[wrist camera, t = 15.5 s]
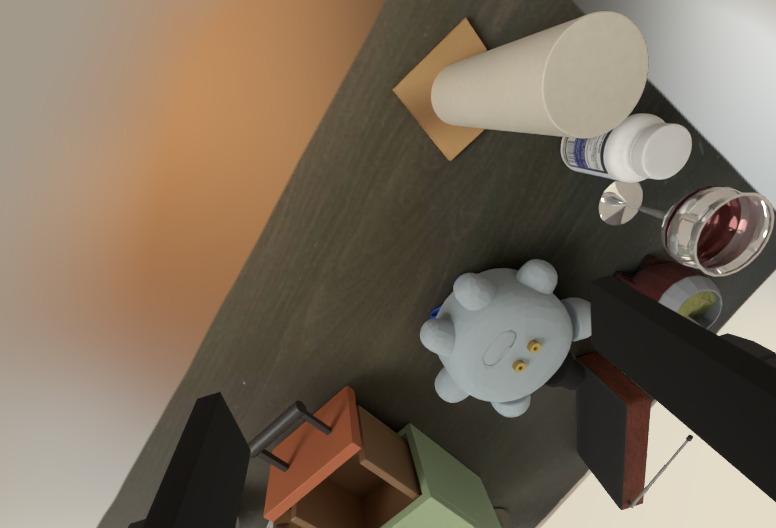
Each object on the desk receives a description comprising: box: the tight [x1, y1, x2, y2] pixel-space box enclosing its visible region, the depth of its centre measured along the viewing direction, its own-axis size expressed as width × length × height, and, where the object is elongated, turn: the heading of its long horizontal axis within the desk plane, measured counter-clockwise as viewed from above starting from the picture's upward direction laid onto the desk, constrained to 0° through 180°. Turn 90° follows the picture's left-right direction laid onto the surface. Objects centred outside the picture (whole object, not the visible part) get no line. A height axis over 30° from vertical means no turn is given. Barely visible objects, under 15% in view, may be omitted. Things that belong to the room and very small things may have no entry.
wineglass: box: [599, 181, 774, 277], centre depth 35 cm, size 7×7×12 cm
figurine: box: [420, 259, 591, 417], centre depth 40 cm, size 17×8×20 cm
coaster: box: [392, 18, 487, 161], centre depth 34 cm, size 8×8×1 cm
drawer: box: [248, 386, 422, 528], centre depth 41 cm, size 18×12×8 cm, turn 42°
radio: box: [576, 352, 693, 510], centre depth 43 cm, size 19×3×15 cm, turn 12°
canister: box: [431, 11, 649, 139], centre depth 25 cm, size 5×5×18 cm
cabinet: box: [380, 423, 502, 528], centre depth 46 cm, size 15×13×10 cm
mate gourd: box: [613, 255, 722, 329], centre depth 38 cm, size 8×8×15 cm
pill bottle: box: [561, 113, 692, 183], centre depth 33 cm, size 5×5×10 cm
